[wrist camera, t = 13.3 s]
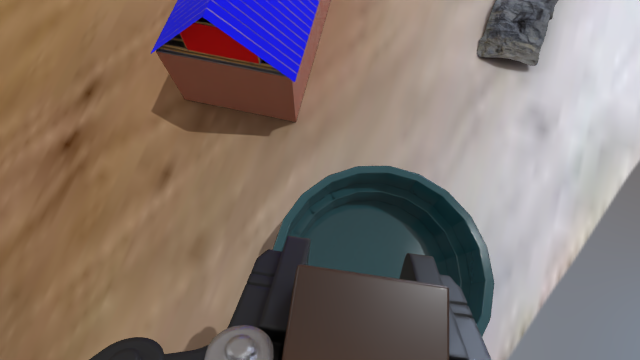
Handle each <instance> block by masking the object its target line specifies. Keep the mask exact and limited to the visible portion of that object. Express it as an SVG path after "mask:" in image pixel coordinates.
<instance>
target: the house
mask: <svg viewBox="0 0 640 360" xmlns="http://www.w3.org/2000/svg"><path fill="white" fill-rule="evenodd" d="M330 1H331V0H178V1H177V3H176V5H175V7H174V9H173V11H172V13H171V15H170V17H169V18H168V20H167V22H166V24H165V26H164V28H163V30H162V32H161V34H160V36H159V38H158V40H157V42H156V44H155V46H154V48H153V50H152V52H151V53H153V52H154V51H155V50H156V52H157V54H158V56H159V57H160V59H161V61H162V62H163V64H164V66H165V67H166V69H167V71H168V72H169V74H170V76H171V77H172V79H173V80H174V82H175V84H176V85H177V87H178V89H179V90H180V92H181V94H182V95H183V97H184V99H186V100H191V101H196V102H201V103H205V104H210V105H215V106H220V107H225V108H230V109H235V110H240V111H245V112H249V113H254V114H259V115H264V116H269V117H274V118H279V119H284V120H289V121H293V122H296V120H297V117H298V113H299V110H300V106H301V103H302V99H303V96H304V92H305V89H306V85H307V82H308V78H309V75H310V71H311V68H312V64H313V61H314V57H315V54H316V50H317V47H318V43H319V40H320V36H321V33H322V29H323V26H324V22H325V19H326V15H327V12H328V8H329V5H330ZM208 55H209V56H208ZM211 56H214V57H211ZM216 57H220V58H216ZM221 58H225V59H221ZM226 59H230V60H226ZM260 59H261V61H260ZM231 60H235V61H231ZM262 60H264V61H265V62H267V63H268V64H265V63H262ZM236 61H240V62H236ZM242 62H245V63H242ZM247 63H250V64H247ZM252 64H255V65H252ZM257 65H261V66H257ZM262 66H266V67H262ZM267 67H271V68H267ZM272 68H275V69H272Z"/></svg>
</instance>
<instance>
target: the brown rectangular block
mask: <svg viewBox="0 0 640 360" xmlns="http://www.w3.org/2000/svg"><path fill="white" fill-rule="evenodd" d="M281 360H449V288H448V287H447V286H444V285H437V284H431V283H424V282H417V281H410V280H404V279H397V278H390V277H383V276H376V275H370V274H363V273H356V272H349V271H343V270H336V269H329V268H322V267H316V266H309V265H302V264H300V265H298V266H297V268H296V274H295V280H294V286H293V292H292V298H291V304H290V311H289V317H288V323H287V329H286V335H285V341H284V347H283V353H282V359H281Z"/></svg>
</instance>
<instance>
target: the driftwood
mask: <svg viewBox="0 0 640 360" xmlns="http://www.w3.org/2000/svg"><path fill="white" fill-rule="evenodd" d="M557 1H558V0H497V1H496V2H495V4H494V7H493V9H492V12H491V14H490V18H489V20H488V24H487V27H486V31H485V33H484V37H482V38H481V39H480V41H479V43H480V44H479V47H478V50H477V51H478V52H477V54H478V55H479V56H480V57H493V58H494V57H497V58H498V57H500V58H507V59H512V60H516V61H520V62H522V63H525V64H528V65H530V66H531V65H532V66H535V65H536V64H537V63H538V59H539V57H538V56H539V52H540V49H541V46H542V43H543V42H544V37H545V34H546V31H547V26H548V22H549V20H551V19H552V17H553V16H552V15H553V11H554V6H555V4H556V3H557Z"/></svg>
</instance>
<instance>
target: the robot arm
mask: <svg viewBox="0 0 640 360" xmlns="http://www.w3.org/2000/svg"><path fill="white" fill-rule="evenodd" d="M310 243H311V239H308V238H301V237H294V236H287V238H286V242H285V245H284V248H283V251H275V250H267V251H266V252H264V253H263V254H262V255H261V256H260V257H259V258H257V260H256V262H255V264H254V267H253V269H252V272H251V274H250V276H249V279H248V281H247V284H246V286H245V288H244V291H243V293H242V295H241V298H240V300H239V302H238V305H237V307H236V310H235V312H234V314H233V317H232V319H231V321H230V324H229V326H228V328H227V329H226V330H224V331H222V332H220V333H219V334H218V335H217V336H215V337H214V338H213V340H212V341H211V342H210V344H209V345H207V346H205V347H203V348H200V349H196V350H191V351H185V352H178V353H171V354H164V352H163V349H162V348H161V346H160V345H159V344H158V343H157V342H155V341H154V340H151V339H148V338H143V337H135V338H128V339H124V340H121V341H119V342H116V343H114V344H112V345H110V346H108V347H107V348H105V349H103V350H102V351H101V352H99V353H98V354H96V355H95V356H94V357H92V358H91V359H89V360H281V359H282V353H283V347H284V341H285V335H286V329H287V323H288V317H289V311H290V304H291V298H292V292H293V286H294V280H295V274H296V268H297V266H298V265H300V264H302V265H308V260H309V252H310ZM399 279H404V280H410V281H417V282H424V283H431V284H437V285H444V286H447V287H448V288H449V360H491V358H490V355H489V353H488V351H487V348H486V346H485V344H484V341H483V339H482V336H481V334H480V332H479V329H478V327H477V325H476V322H475V320H474V318H472V313H471V310H470V308H469V306H467V301H466V299H465V296H464V294H463V292H462V289H461V288H460V287H459V286H458V285H457V284H456V283H455V282H454V280H453V279H452V278H451V277H450V276H447V275H440V274H439V271H438V269H437V266H436V263H435V260H434V258H433V257H432V256H426V255H419V254H412V253H407V254H406V256H405V259H404V263H403V267H402V270H401V274H400V278H399Z"/></svg>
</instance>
